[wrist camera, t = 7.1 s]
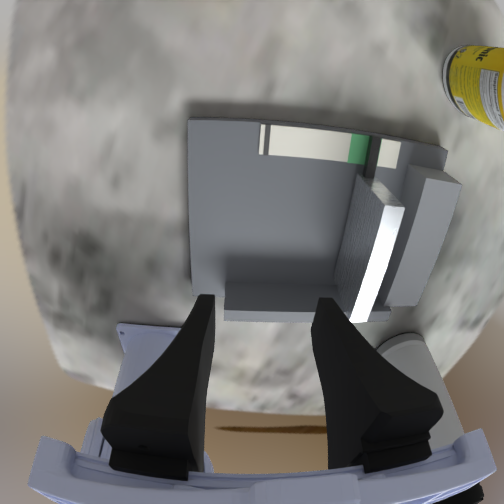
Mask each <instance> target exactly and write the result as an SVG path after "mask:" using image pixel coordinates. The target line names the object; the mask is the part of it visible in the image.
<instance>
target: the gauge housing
mask: <svg viewBox="0 0 504 504" xmlns="http://www.w3.org/2000/svg"><path fill="white" fill-rule="evenodd" d="M370 135H374V136H379V137H381V138H382V140H381V146H380V151H379V156H378V161H377V166H376V171H375V177H376V178H377V179H378V180H379V181H380V182H381V183H382V184H383V185H384V186H385V187H386V188H387V189H388V190H389V191H390V192H391V193H392V194H393V195H394V196H395V197H396V198H397V199H398V200H399V201H400V203H401V204H402V205H403V206H404V207H405V210H404V213H403V217H402V220H401V224H400V227H399V230H398V234H397V237H396V240H395V243H394V246H393V250H392V253H391V256H390V259H389V262H388V265H387V268H386V271H385V273H384V276H383V279H382V282H381V285H380V287H379V290H378V293H377V296H376V298H375V301H374V304H373V306H372V309H371V311H370V314H369V317H368V319H367V322H373V321H387V320H388V318H389V316H390V314H391V309H390V307H396V306H417V304H418V302H419V300H420V297H421V295H422V293H423V291H424V289H425V286H426V284H427V282H428V279H429V277H430V275H431V272H432V270H433V267H434V265H435V262H436V260H437V257H438V255H439V252H440V250H441V247H442V244H443V242H444V239H445V236H446V233H447V231H448V228H449V225H450V222H451V219H452V216H453V213H454V210H455V207H456V204H457V201H458V198H459V194H460V191H461V188H462V184H461V183H459V182H458V181H457V180H455V179H454V178H452V177H451V176H450V175H448V174H447V173H446V172H444V171H443V170H444V166H445V162H446V158H447V154H448V150H446V149H444V148H442V147H440V146H436V145H432V144H428V143H423V142H419V141H414V140H409V139H404V138H399V137H394V136H389V135H384V134H378V133H372V132H366V131H360V130H353V129H347V128H340V127H332V126H324V125H316V124H307V123H297V122H286V121H274V120H260V119H242V118H211V117H190V118H189V119H188V204H189V234H190V256H191V275H192V291H193V296H199V295H200V294H215V297H225V302H224V321H246V322H305V323H313V319H314V315H315V312H316V308H317V304H318V300H319V297H324V298H333V299H334V300H335V302H336V303H337V304H338V306H339V307H340V308H341V310H342V311H343V312H344V314H345V315H346V312H345V309H344V306H343V303H342V300H341V297H340V294H339V291H338V288H337V286H336V283H335V280H334V273H335V269H336V265H337V261H338V257H339V253H340V248H341V244H342V240H343V236H344V231H345V227H346V222H347V218H348V213H349V209H350V204H351V199H352V194H353V189H354V184H355V179H356V174H357V173H361V174H363V169H364V164H365V159H366V153H367V148H368V142H369V136H370ZM346 316H347V315H346Z"/></svg>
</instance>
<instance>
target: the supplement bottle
mask: <svg viewBox="0 0 504 504" xmlns="http://www.w3.org/2000/svg"><path fill="white" fill-rule="evenodd" d="M443 83H444V88H445V92H446V94H447V97H448V99H449V100H450V102H451V104H452V105H453V106H454V107H455V108H456V109H457V110H458V111H459V112H461V113H462V114H464V115H466V116H468V117H470V118H473V119H475V120H478V121H480V122H483V123H485V124H488V125H490V126H493V127H495V128H497V129H499V130H502V131H504V48H498V47H488V46H474V45H465V46H460V47H457V48H456V49H454V50H453V51H452V52H451V53H450V54H449V55H448V57H447V59H446V61H445V64H444V68H443Z"/></svg>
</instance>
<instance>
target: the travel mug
mask: <svg viewBox="0 0 504 504" xmlns="http://www.w3.org/2000/svg"><path fill="white" fill-rule="evenodd" d="M376 351H377V352H378V353H379V354H380V355H382V356H383V357H384V358H385V359H386V360H387V361H388V362H389V363H391V364H392V365H393V366H394V367H396V368H397V369H398V370H400V371H401V372H402V373H404V374H405V375H406V376H408V377H409V378H411V379H413V380H414V381H416V382H417V383H419V384H420V385H422V386H424V387H426V388H428V389H430V390H432V391H433V392H435V393H437V395H438V397H439V400H440V402H441V405H442V407H443V410H444V413H443V416H442V418H441V419H440V420H439V421H438V422H437V423H436V424H435V425H434V426H433V427H432V428H431V429H430V430H429V433H430V436H431V439H429V440H428V442H429V445H430V448H431V450H432V449H435V448H439V447H442V446H445V445H449V444H452V443H454V441H455V440H456V439H457V438H459V437H460V436H462V435H463V434H464V431H463V428H462V426H461V423H460V421H459V418H458V415H457V413H456V411H455V408H454V406H453V403H452V401H451V398H450V396H449V394H448V391H447V389H446V386H445V384H444V382H443V380H442V377H441V375H440V373H439V371H438V368H437V366H436V364H435V362H434V360H433V358H432V355H431V353H430V351H429V349H428V347H427V345H426V343H425V341H424V339H423V337H422V336H420V335H418V334H415V333H406V334H401V335H398V336H395V337H393V338H391V339H389V340H388V341H386V342H385V343H383V344H382V345H381V346H380V347H379V348H378V349H377V350H376ZM479 483H480V482H478V483H477V484H475V485H474V486H472V487H470V488H469V489H467V490H465V491H462V492H460V493H458V494H455V495H453V496H450V497H448V498H445V499H443V500H440V501H438V502H435V503H432V504H478V503H479V502H481V501H482V500H483V497H484V493H483V490H482V486H480V484H479Z"/></svg>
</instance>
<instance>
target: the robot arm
mask: <svg viewBox="0 0 504 504" xmlns="http://www.w3.org/2000/svg"><path fill="white" fill-rule="evenodd" d="M116 329H117V333H118V336H119V339H120V342H121V345H122V348H123V351H124V354H125V355H124V358H123V361H122V365H121V368H120V371H119V375H118V378H117V382H116V385H115V389H114V392H113V396H112V398H111V400H110V402H109V404H108V406H107V409H106V411H105V413H104V417H103V419H102V418H100V417H98V418H97V419H96V420H92V421H90V423H89V426H88V428H87V431H86V434H85V438H84V441H83V445H82V448H81V452H76V451H75V449H74V448H73V447H72V446H71V445H69V444H67V443H65V442H63V441H59V440H56V439H53V438H49V437H46V436H41V439H40V442H39V445H38V449H37V452H36V455H35V458H34V462H33V466H32V469H31V473H30V477H29V481H28V486H29V487H30V488H32V489H33V490H35V491H37V492H38V493H40V494H42V495H44V496H45V497H47V498H49V499H50V500H52V501H54V502H56V503H58V504H432V503H435V502H438V501H440V500H443V499H445V498H448V497H450V496H453V495H455V494H458V493H460V492H462V491H465V490H467V489H469V488H470V487H472V486H474V485H475V484H477V483H478V482H480V481H482V480H483V479H485V478H486V477H488V476H489V475H491V474H492V473H494V472H495V471H496V470H497V468H496V465H495V462H494V460H493V457H492V454H491V451H490V448H489V446H488V443H487V441H486V438H485V435H484V433H483V430H482V429H477V430H474V431H472V432H469V433H466V434H463V435H462V436H460V437H459V438H457V439H456V440H455V441H454V443H452V444H449V445H445V446H442V447H439V448H435V449H432V450H431V448H430V445H429V442H428V440H429V439H431V436H430V433H429V430H430V429H431V428H432V427H433V426H434V425H435V424H436V423H437V422H438V421H439V420H440V419H441V418H442V416H443V413H444V410H443V407H442V405H441V402H440V400H439V397H438V395H437V393H435V392H433V391H432V390H430V389H428V388H426V387H424V386H422V385H420V384H419V383H417V382H416V381H414V380H413V379H411V378H409V377H408V376H406V375H405V374H404V373H402V372H401V371H400V370H398V369H397V368H396V367H394V366H393V365H392V364H391V363H389V362H388V361H387V360H386V359H385V358H384V357H383V356H382V355H380V354H379V353H378V352H377V351H376V350H375V349H374V348H373V347H372V346H371V345H370V344H369V343H368V341H367V340H366V339H365V338H364V337H363V336H362V335H361V334H360V332H359V331H358V330H357V329H356V328H355V326H354V325H353V324H352V323H351V321H350V320H349V319H348V317H347V316H346V315H345V314H344V312H343V311H342V310H341V308H340V307H339V306H338V304H337V303H336V302H335V300H334V299H333V298H324V297H319V300H318V304H317V308H316V312H315V315H314V319H313V323H312V327H311V337H312V346H313V352H314V357H315V361H316V365H317V369H318V373H319V378H320V382H321V386H322V390H323V396H324V403H325V412H326V424H327V439H328V470H320V471H310V472H298V473H278V474H223V473H214V470H213V465H212V463H211V461H210V458H209V456H208V454H207V453H206V452H205V451H204V434H205V412H206V396H207V388H208V382H209V376H210V370H211V364H212V358H213V352H214V343H215V294H200V295H199V296H198V298H197V300H196V302H195V305H194V307H193V309H192V311H191V312H190V314H189V316H188V318H187V319H186V321H185V323H184V324H183V326H182V328H172V327H159V326H147V325H136V324H125V323H119V324H117V327H116Z"/></svg>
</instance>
